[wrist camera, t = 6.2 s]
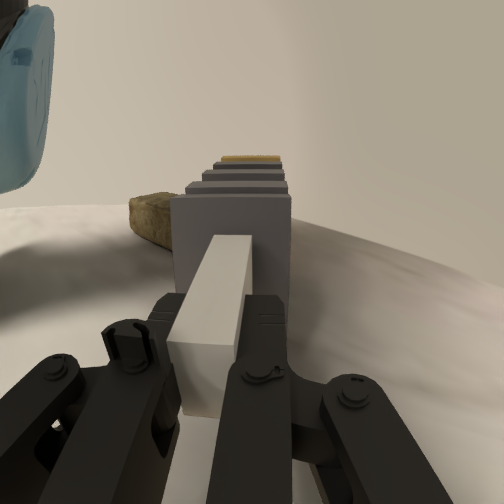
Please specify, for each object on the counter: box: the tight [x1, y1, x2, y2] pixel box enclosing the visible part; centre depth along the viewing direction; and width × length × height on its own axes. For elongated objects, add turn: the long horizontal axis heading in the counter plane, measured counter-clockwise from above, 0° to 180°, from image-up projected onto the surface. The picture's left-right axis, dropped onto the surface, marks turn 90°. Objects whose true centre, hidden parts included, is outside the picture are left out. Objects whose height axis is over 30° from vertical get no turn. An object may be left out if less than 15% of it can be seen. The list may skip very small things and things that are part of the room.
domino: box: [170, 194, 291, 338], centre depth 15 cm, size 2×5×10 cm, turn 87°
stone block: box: [129, 192, 178, 251], centre depth 36 cm, size 6×12×5 cm, turn 49°
